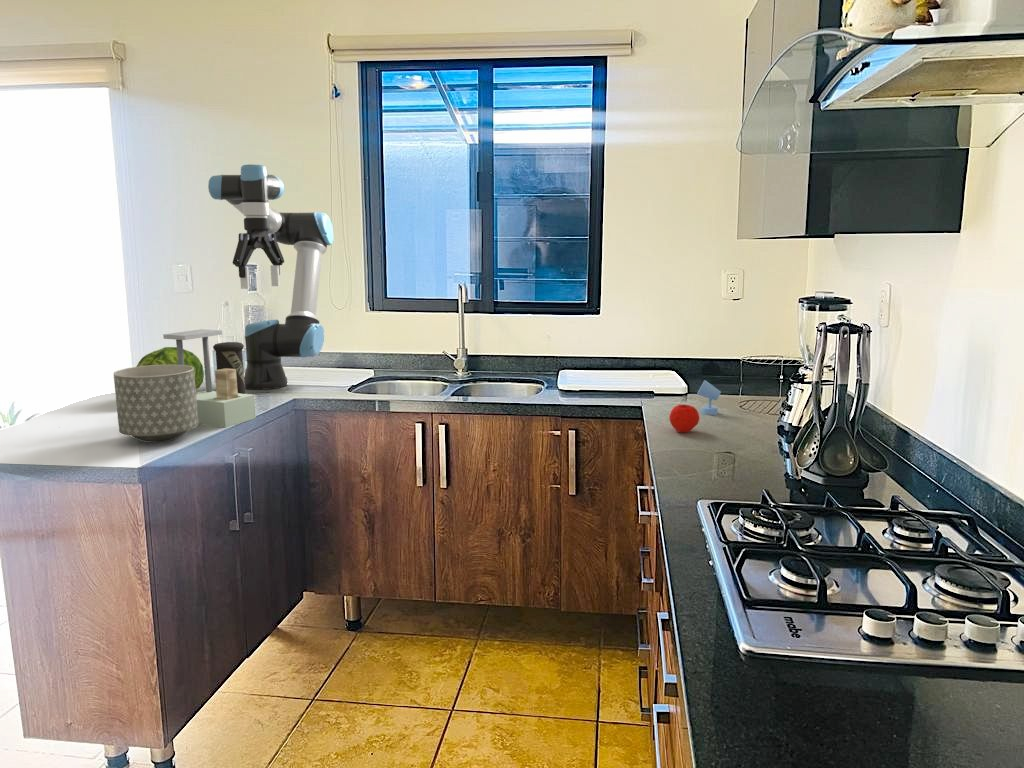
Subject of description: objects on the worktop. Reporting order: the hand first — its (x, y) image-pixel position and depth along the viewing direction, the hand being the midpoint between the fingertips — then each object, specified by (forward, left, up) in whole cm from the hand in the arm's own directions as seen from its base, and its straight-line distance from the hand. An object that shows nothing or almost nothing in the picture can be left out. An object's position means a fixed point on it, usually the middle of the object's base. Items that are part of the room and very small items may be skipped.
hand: (260, 287), depth 241 cm
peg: (+24, +6, -36) cm, 44 cm away
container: (+6, -9, -37) cm, 38 cm away
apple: (-14, +129, -37) cm, 135 cm away
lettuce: (+9, -33, -37) cm, 50 cm away
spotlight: (-39, +131, -37) cm, 142 cm away
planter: (+46, +4, -37) cm, 59 cm away
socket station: (+24, +2, -37) cm, 44 cm away
